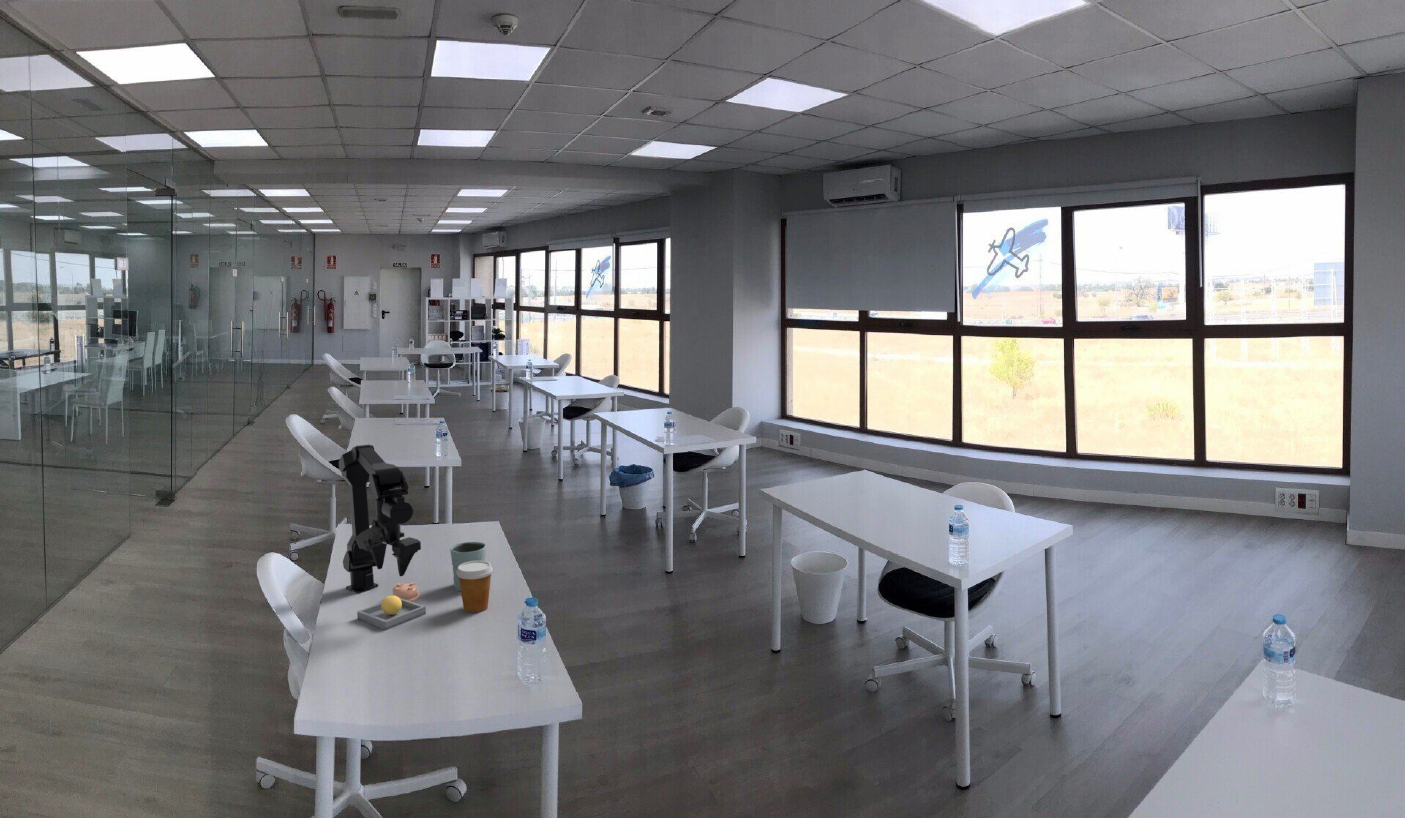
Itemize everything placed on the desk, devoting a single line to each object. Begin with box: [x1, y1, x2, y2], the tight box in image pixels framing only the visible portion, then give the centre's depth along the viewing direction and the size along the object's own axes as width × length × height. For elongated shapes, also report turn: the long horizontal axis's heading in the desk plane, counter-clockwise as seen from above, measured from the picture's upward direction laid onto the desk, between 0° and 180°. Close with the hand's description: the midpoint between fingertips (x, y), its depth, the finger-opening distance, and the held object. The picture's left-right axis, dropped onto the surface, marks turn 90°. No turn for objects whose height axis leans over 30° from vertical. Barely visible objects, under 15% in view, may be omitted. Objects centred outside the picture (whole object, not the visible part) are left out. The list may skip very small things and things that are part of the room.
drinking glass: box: [449, 541, 487, 592], centre depth 218 cm, size 10×10×12 cm
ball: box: [381, 595, 402, 615], centre depth 197 cm, size 5×5×5 cm
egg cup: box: [391, 582, 421, 602], centre depth 209 cm, size 8×8×4 cm
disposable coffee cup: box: [456, 560, 494, 614], centre depth 202 cm, size 10×10×12 cm
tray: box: [356, 598, 427, 631], centre depth 197 cm, size 12×12×2 cm
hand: (390, 572), depth 196 cm, fingers open, 9 cm apart
